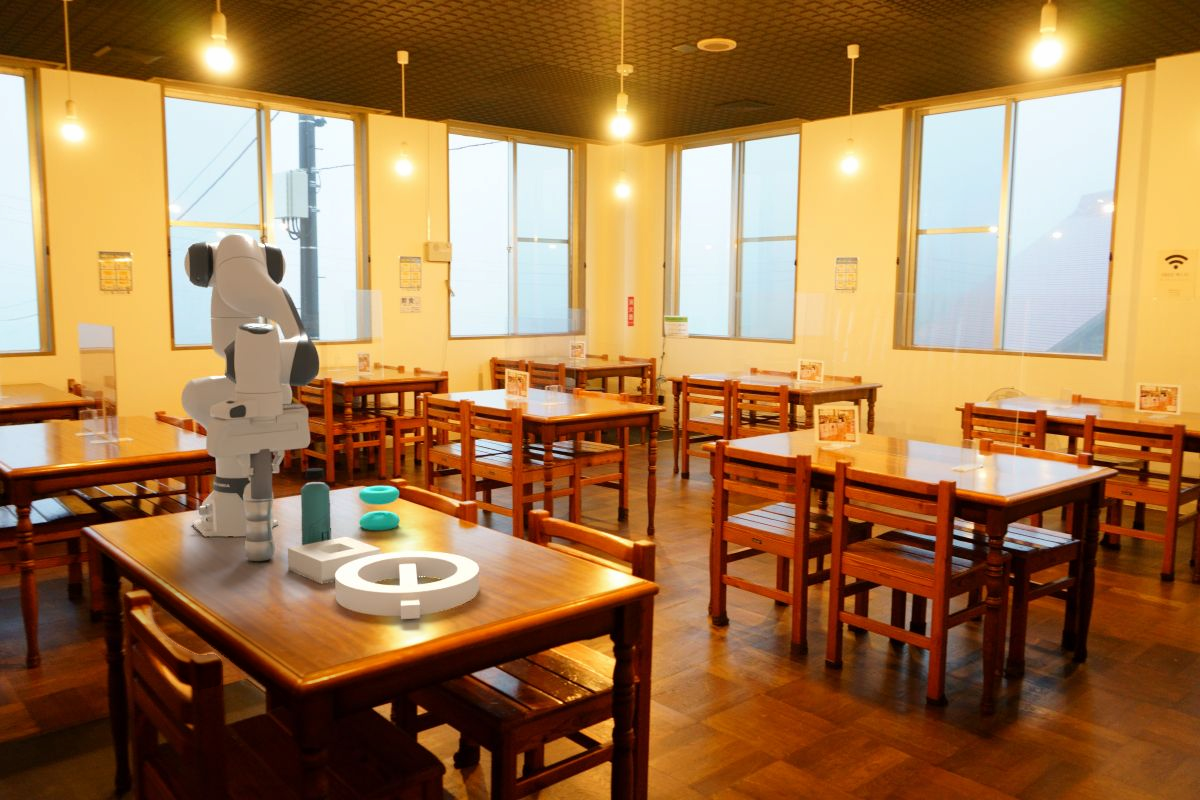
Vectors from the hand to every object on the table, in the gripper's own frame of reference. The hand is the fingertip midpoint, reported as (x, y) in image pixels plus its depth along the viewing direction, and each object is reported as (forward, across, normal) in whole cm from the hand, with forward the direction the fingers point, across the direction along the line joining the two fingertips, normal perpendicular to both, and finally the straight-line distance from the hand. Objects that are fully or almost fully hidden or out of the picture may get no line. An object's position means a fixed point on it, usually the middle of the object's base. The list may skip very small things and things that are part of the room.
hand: (261, 474), depth 182 cm
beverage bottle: (+23, -19, -13) cm, 33 cm away
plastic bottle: (+23, -8, -18) cm, 30 cm away
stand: (+23, -16, 0) cm, 28 cm away
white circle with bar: (+23, -19, +23) cm, 38 cm away
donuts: (+23, -44, -26) cm, 56 cm away
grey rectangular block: (+5, 0, 0) cm, 5 cm away
